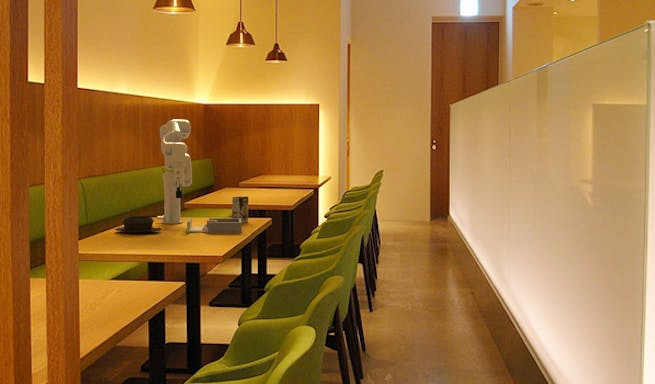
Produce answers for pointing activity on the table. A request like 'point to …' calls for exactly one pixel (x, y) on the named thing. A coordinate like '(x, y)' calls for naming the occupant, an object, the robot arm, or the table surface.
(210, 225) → the frame
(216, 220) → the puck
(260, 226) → the table surface
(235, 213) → the coffee box
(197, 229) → the tray
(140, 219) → the casserole
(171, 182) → the robot arm
